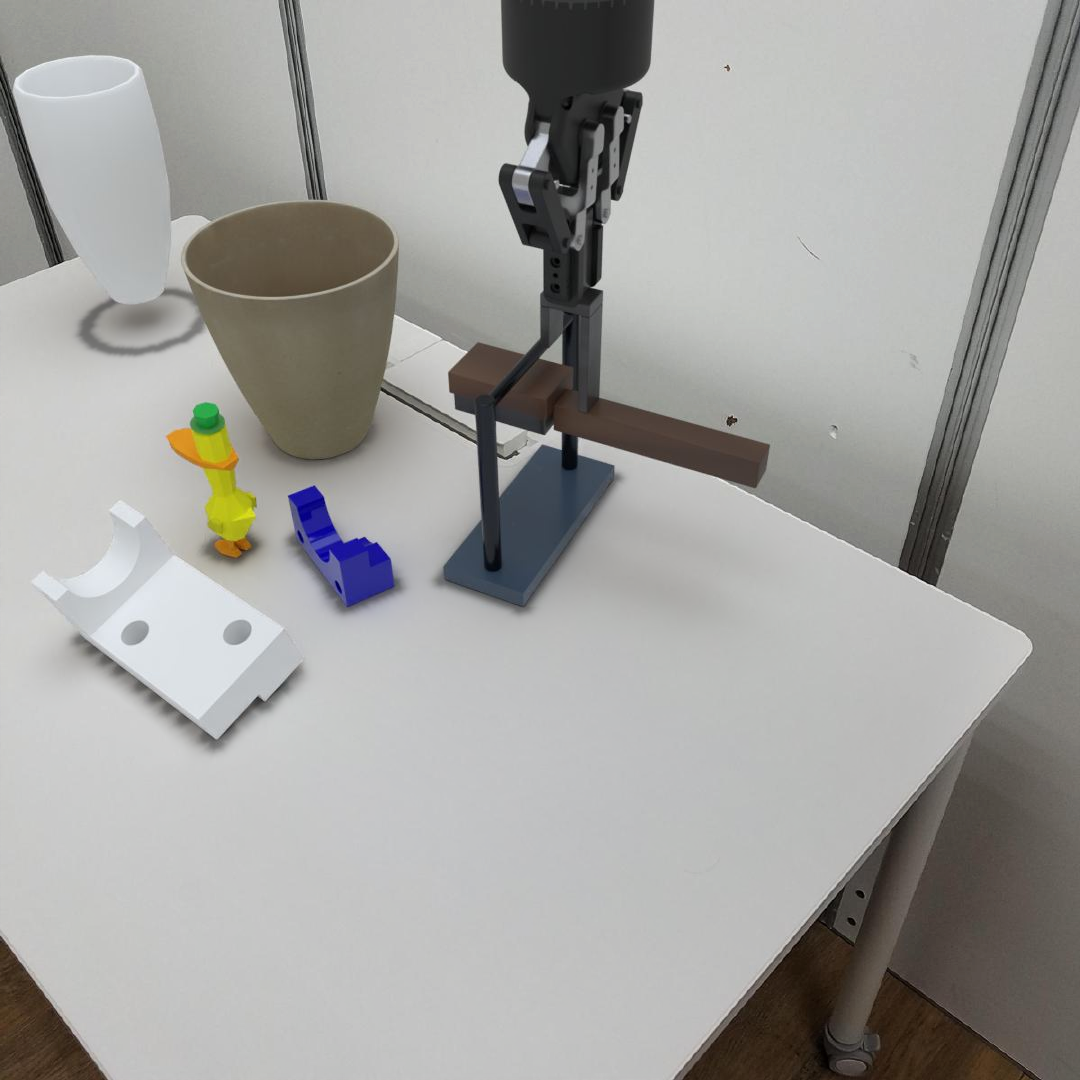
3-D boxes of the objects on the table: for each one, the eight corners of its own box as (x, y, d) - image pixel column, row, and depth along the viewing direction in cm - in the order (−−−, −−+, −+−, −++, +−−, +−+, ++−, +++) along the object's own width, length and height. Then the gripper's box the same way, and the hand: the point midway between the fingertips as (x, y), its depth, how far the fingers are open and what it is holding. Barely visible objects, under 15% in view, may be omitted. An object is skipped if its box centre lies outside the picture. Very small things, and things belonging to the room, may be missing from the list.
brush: (750, 498, 66) (785, 277, 56) (450, 410, 73) (434, 199, 63) (771, 461, 69) (807, 243, 59) (479, 379, 76) (469, 172, 66)
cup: (226, 300, 103) (172, 59, 89) (164, 359, 96) (95, 107, 81) (128, 284, 105) (61, 47, 91) (61, 340, 98) (-24, 92, 84)
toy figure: (179, 542, 78) (136, 401, 70) (216, 515, 80) (178, 374, 72) (249, 578, 75) (213, 435, 67) (285, 548, 78) (255, 406, 70)
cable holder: (394, 586, 75) (388, 541, 72) (347, 606, 73) (339, 562, 71) (341, 521, 80) (334, 477, 77) (296, 539, 78) (287, 495, 76)
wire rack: (614, 477, 83) (622, 304, 73) (523, 607, 73) (518, 426, 63) (542, 456, 85) (540, 284, 75) (443, 579, 75) (427, 400, 65)
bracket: (93, 646, 72) (30, 582, 66) (172, 568, 75) (119, 499, 69) (223, 746, 66) (167, 685, 60) (304, 658, 69) (259, 591, 63)
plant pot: (424, 479, 83) (405, 288, 72) (221, 500, 82) (171, 308, 71) (411, 370, 94) (392, 189, 83) (231, 386, 92) (189, 205, 82)
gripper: (589, 25, 48) (581, 366, 60) (701, -55, 57) (675, 254, 69) (438, 2, 50) (459, 333, 62) (568, -72, 60) (565, 229, 71)
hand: (572, 290), depth 65 cm, fingers closed on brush, 2 cm apart
